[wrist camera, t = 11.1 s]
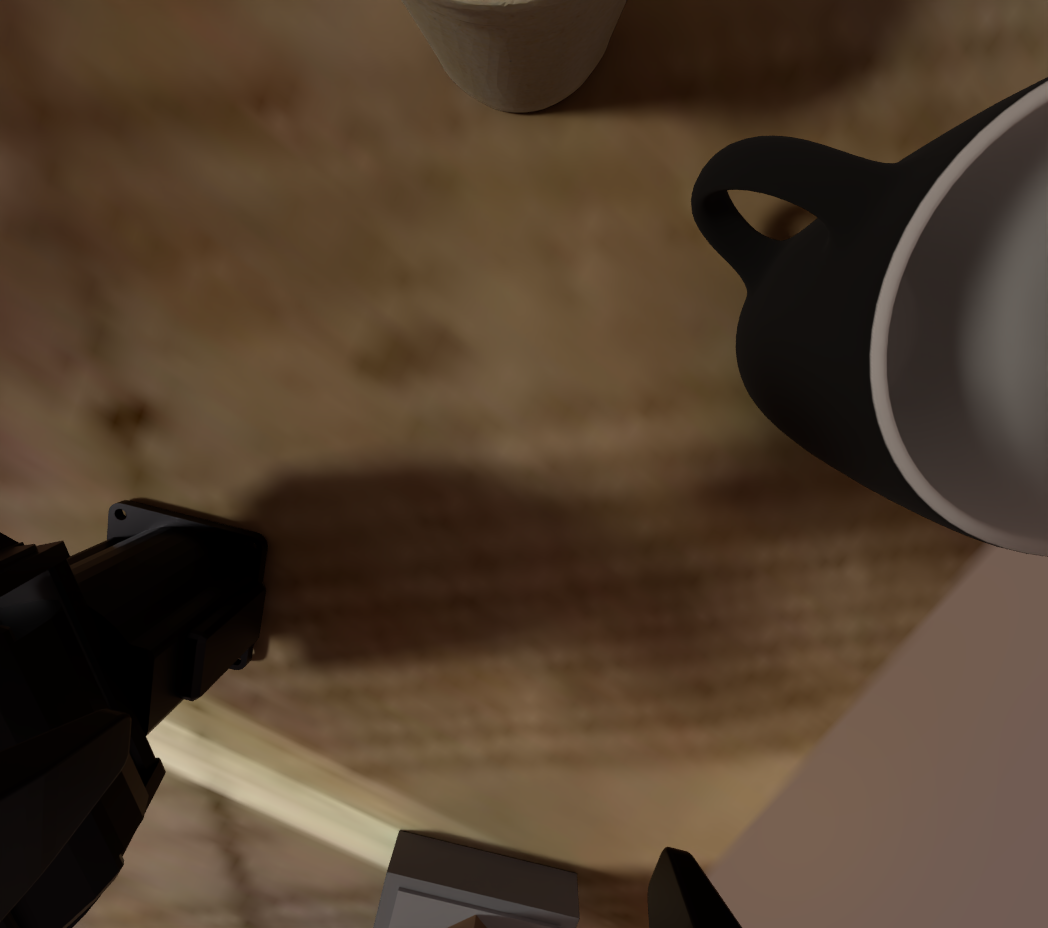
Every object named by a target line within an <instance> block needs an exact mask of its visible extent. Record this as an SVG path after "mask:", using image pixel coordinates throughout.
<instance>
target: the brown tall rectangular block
mask: <svg viewBox="0 0 1048 928" xmlns="http://www.w3.org/2000/svg"><path fill="white" fill-rule="evenodd" d="M448 928H487V927H486V926H485V925H484V924H483V923H482V921H481V920H480V919H479V918H478V917H477V915H474V916H471V917H469V918H467V919H465V920H463V921H461V922H458V923H456V924H454V925H452V926H450V927H448Z"/></svg>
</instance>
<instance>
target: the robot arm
mask: <svg viewBox="0 0 1048 928" xmlns="http://www.w3.org/2000/svg"><path fill="white" fill-rule="evenodd" d="M122 510H124V511H125V512H126V515H127V516H125V515H124V514H123V511H122ZM250 542H253V543H255V545H256V548H257V549H254V548H252V547H251V545H250ZM267 547H268V546H267V541H266V539H265V537H263V536H262V535H261V534H259V533H256V532H252V531H248V530H244V529H240V528H236V527H232V526H228V525H224V524H220V523H216V522H212V521H208V520H204V519H200V518H196V517H192V516H188V515H185V514H181V513H177V512H173V511H169V510H165V509H161V508H157V507H153V506H149V505H145V504H141V503H137V502H133V501H129V500H124V501H121V502H118V503H116V504H113V505H112V506H111V507H110V509H109V514H108V531H107V540H106V541H104V542H102V543H100V544H97V545H95V546H93V547H90V548H88V549H86V550H84V551H81V552H79V553H77V554H75V555H72V556H70V555H69V553H68V550H67V548H66V546H65V544H64V541H58V542H54V543H49V544H44V545H39V546H36V545H35V544H31V545H24V543H23V542H21V543H18V542H17V541H15V540H13V539H11V538H9V537H8V536H6V535H4V534H2V533H0V928H72V927H73V926H74V925H75V924H76V923H77V922H78V921H79V920H80V919H81V918H82V917H83V916H84V915H85V914H86V913H87V912H88V911H89V909H90V908H91V907H92V906H93V904H94V903H95V902H96V901H97V900H98V898H99V897H100V896H101V894H102V893H103V892H104V891H105V890H106V888H107V887H108V886H109V885H110V884H111V883H112V882H113V881H114V879H115V878H116V877H117V875H118V873H119V872H120V870H121V868H122V867H123V865H124V859H123V855H124V853H125V851H126V849H127V847H128V845H129V843H130V841H131V839H132V837H133V835H134V833H135V831H136V830H137V828H138V826H139V825H140V823H141V821H142V820H143V818H144V814H145V812H146V810H147V808H148V806H149V804H150V802H151V800H152V798H153V796H154V794H155V792H156V790H157V789H158V787H159V785H160V783H161V781H162V779H163V777H164V775H165V772H166V771H165V769H164V767H163V764H162V762H161V760H160V758H155V756H154V754H153V751H152V749H151V747H150V745H149V742H148V740H147V738H146V736H147V735H148V734H149V733H150V732H151V731H152V730H153V729H154V728H155V727H156V726H157V725H158V724H159V723H160V722H161V721H162V720H163V719H164V718H165V717H166V716H167V715H168V714H169V713H170V712H171V711H172V710H173V709H174V708H175V707H176V706H177V705H178V704H179V703H180V702H182V701H183V700H184V699H185V700H189V701H194V700H196V699H198V698H199V697H201V696H202V695H203V694H204V693H205V692H206V691H207V690H208V689H209V688H210V687H211V686H212V685H213V684H214V683H215V682H216V681H217V680H218V679H219V678H220V677H221V676H222V675H223V674H224V673H225V672H226V671H227V670H228V669H233V670H240V669H243V668H244V667H245V666H246V665H247V664H248V663H249V662H250V661H251V658H252V652H253V645H254V642H255V641H256V640H257V639H258V638H259V634H260V627H261V620H262V613H263V606H264V599H265V592H266V589H265V586H264V584H263V583H262V582H263V575H264V568H265V561H266V554H267ZM239 657H240V658H241V660H240V659H238V658H239ZM648 914H649V928H742V927H741V925H740V924H739V922H738V921H737V920H736V918H735V917H734V915H733V914H732V913H731V911H730V909H729V908H728V906H727V905H726V904H725V902H724V901H723V899H722V898H721V896H720V895H719V893H718V892H717V890H716V889H715V888H714V886H713V885H712V883H711V882H710V880H709V879H708V877H707V876H706V874H705V873H704V872H703V870H702V869H701V867H700V866H699V864H698V863H697V861H696V860H695V858H694V857H693V856H692V855H691V854H690V853H689V852H687V851H683V850H679V849H675V848H671V847H666V848H665V849H663V851H662V853H661V855H660V858H659V860H658V862H657V865H656V867H655V870H654V872H653V875H652V877H651V880H650V883H649V887H648Z"/></svg>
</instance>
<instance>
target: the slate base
mask: <svg viewBox="0 0 1048 928" xmlns="http://www.w3.org/2000/svg"><path fill="white" fill-rule="evenodd" d="M474 915H477V917H478V918H479V919H480V920H481V921H482V923H483V924H484V925H485V926H486V927H487V928H576V927H577V924H578V921H579V902H578V885H577V874H576V873H572V872H568V871H564V870H560V869H555V868H551V867H547V866H543V865H539V864H535V863H531V862H527V861H523V860H518V859H514V858H510V857H506V856H502V855H498V854H494V853H490V852H486V851H481V850H477V849H473V848H469V847H465V846H461V845H457V844H453V843H449V842H444V841H440V840H436V839H432V838H428V837H424V836H420V835H416V834H412V833H407V832H403V831H399V833H398V837H397V840H396V843H395V847H394V850H393V853H392V857H391V860H390V863H389V867H388V870H387V874H386V878H385V882H384V886H383V890H382V894H381V898H380V902H379V907H378V911H377V915H376V919H375V923H374V927H373V928H448V927H450V926H452V925H454V924H456V923H458V922H461V921H463V920H465V919H467V918H469V917H471V916H474Z"/></svg>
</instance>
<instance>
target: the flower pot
mask: <svg viewBox="0 0 1048 928" xmlns="http://www.w3.org/2000/svg"><path fill="white" fill-rule="evenodd" d="M401 1H402V2H403V4H404V5H405V7H406V8H407V10H408V11H409V13H410V14H411V16H412V18H413V19H414V21H415V22H416V24H417V25H418V27H419V29H420V30H421V32H422V33H423V35H424V36H425V38H426V40H427V41H428V43H429V44H430V46H431V48H432V49H433V51H434V53H435V54H436V56H437V57H438V59H439V61H440V63H441V65H442V66H443V68H444V70H445V71H446V73H447V74H448V76H449V77H450V78H451V79H452V80H453V81H454V82H455V83H456V84H457V85H458V86H459V87H460V88H461V89H462V90H463V91H465V92H466V93H467V94H469V95H470V96H472V97H473V98H475V99H477V100H478V101H480V102H482V103H484V104H485V105H487V106H489V107H491V108H493V109H496V110H500V111H505V112H532V111H537V110H541V109H545V108H547V107H549V106H552V105H554V104H556V103H558V102H560V101H561V100H563V99H565V98H566V97H568V96H569V95H570V94H572V93H573V92H575V91H576V90H577V89H578V88H579V87H580V86H581V85H582V84H583V83H584V82H585V80H586V79H587V78H588V76H589V75H590V74H591V73H592V71H593V70H594V69H595V67H596V66H597V64H598V63H599V61H600V60H601V58H602V56H603V55H604V52H605V50H606V48H607V46H608V43H609V40H610V37H611V35H612V33H613V31H614V28H615V26H616V24H617V21H618V19H619V17H620V15H621V12H622V10H623V8H624V6H625V3H626V1H627V0H401Z"/></svg>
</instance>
